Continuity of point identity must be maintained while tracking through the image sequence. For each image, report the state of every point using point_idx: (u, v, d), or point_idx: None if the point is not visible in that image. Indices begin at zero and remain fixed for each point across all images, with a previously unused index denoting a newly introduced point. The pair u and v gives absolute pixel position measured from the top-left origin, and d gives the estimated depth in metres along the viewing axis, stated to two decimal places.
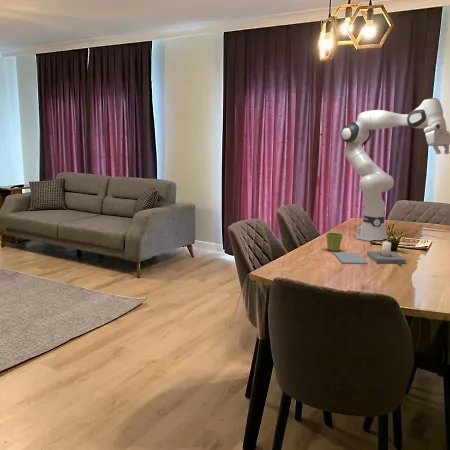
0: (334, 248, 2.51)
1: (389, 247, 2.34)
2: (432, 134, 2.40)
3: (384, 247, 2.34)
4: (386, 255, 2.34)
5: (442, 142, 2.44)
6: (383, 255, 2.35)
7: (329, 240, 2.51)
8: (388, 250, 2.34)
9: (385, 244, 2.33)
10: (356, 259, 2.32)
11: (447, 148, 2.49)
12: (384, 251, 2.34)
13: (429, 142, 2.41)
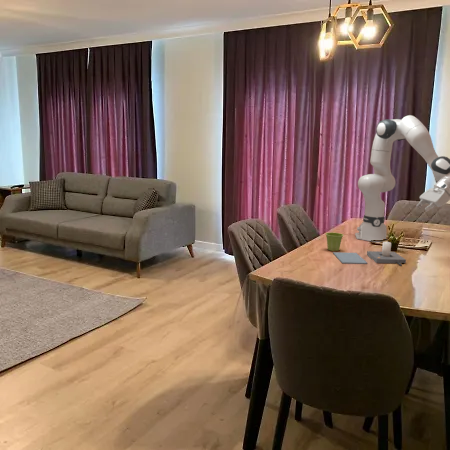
0: (334, 248, 2.51)
1: (389, 247, 2.34)
2: (447, 199, 2.21)
3: (384, 247, 2.34)
4: (386, 255, 2.34)
5: None
6: (383, 255, 2.35)
7: (329, 240, 2.51)
8: (388, 250, 2.34)
9: (385, 244, 2.33)
10: (356, 259, 2.32)
11: (421, 204, 2.37)
12: (384, 251, 2.34)
13: (439, 201, 2.21)
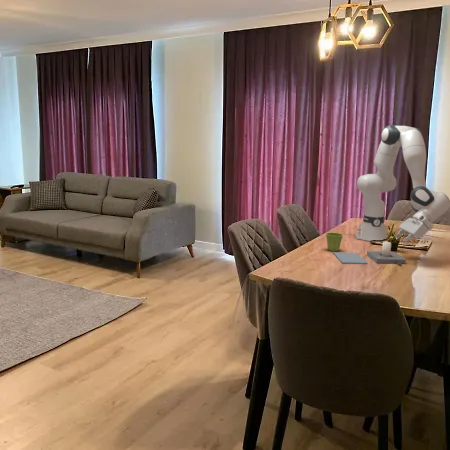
0: (334, 248, 2.51)
1: (389, 247, 2.34)
2: (425, 231, 2.24)
3: (384, 247, 2.34)
4: (386, 255, 2.34)
5: None
6: (383, 255, 2.35)
7: (329, 240, 2.51)
8: (388, 250, 2.34)
9: (385, 244, 2.33)
10: (356, 259, 2.32)
11: (401, 234, 2.40)
12: (384, 251, 2.34)
13: (417, 233, 2.24)
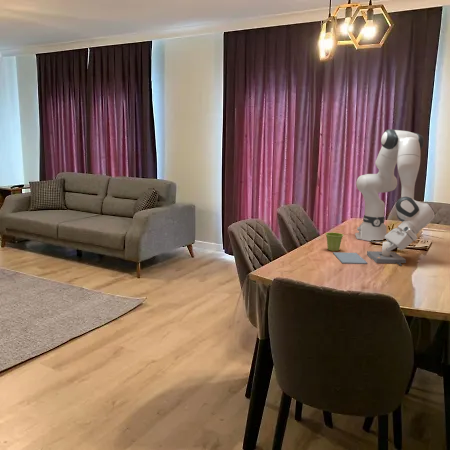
0: (334, 248, 2.51)
1: None
2: (409, 242, 2.25)
3: (384, 247, 2.34)
4: (386, 255, 2.34)
5: None
6: (383, 255, 2.35)
7: (329, 240, 2.51)
8: None
9: (385, 244, 2.33)
10: (356, 259, 2.32)
11: None
12: (384, 251, 2.34)
13: (401, 244, 2.25)
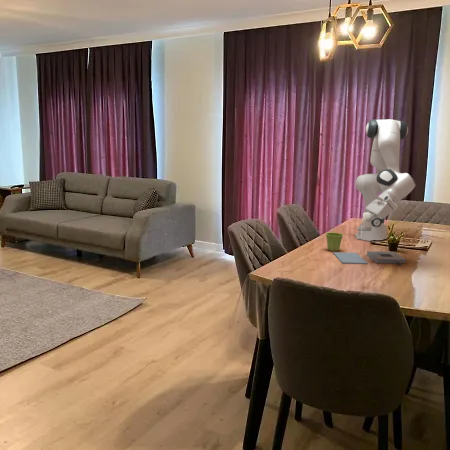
0: (334, 248, 2.51)
1: None
2: (389, 211, 2.22)
3: (365, 218, 2.31)
4: (367, 226, 2.31)
5: None
6: (364, 226, 2.32)
7: (329, 240, 2.51)
8: None
9: (366, 214, 2.31)
10: (356, 259, 2.32)
11: None
12: (365, 222, 2.31)
13: (381, 213, 2.22)
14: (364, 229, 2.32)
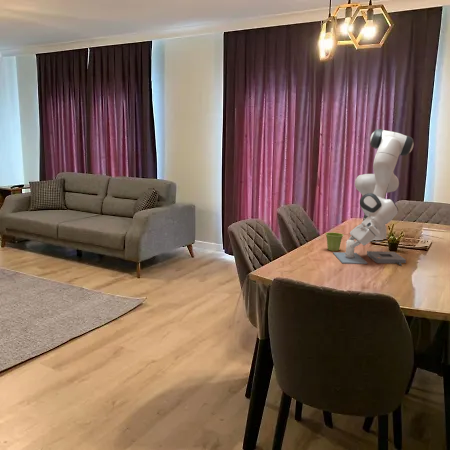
0: (334, 248, 2.51)
1: None
2: (371, 238, 2.25)
3: (348, 245, 2.34)
4: (350, 253, 2.34)
5: None
6: (347, 253, 2.35)
7: (329, 240, 2.51)
8: None
9: (349, 242, 2.33)
10: (356, 259, 2.32)
11: None
12: (348, 249, 2.34)
13: (363, 240, 2.25)
14: (347, 256, 2.35)
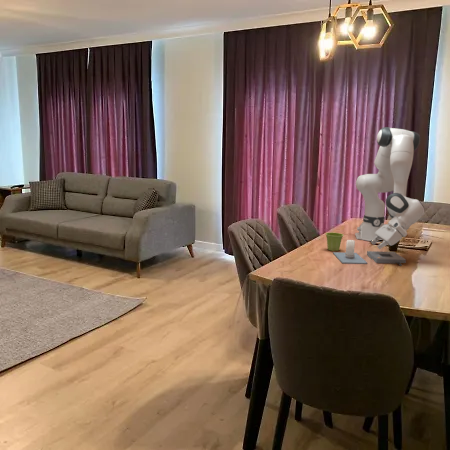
0: (334, 248, 2.51)
1: (353, 245, 2.33)
2: (399, 238, 2.25)
3: (348, 245, 2.34)
4: (350, 253, 2.34)
5: None
6: (347, 253, 2.35)
7: (329, 240, 2.51)
8: (352, 248, 2.34)
9: (349, 242, 2.33)
10: (356, 259, 2.32)
11: (376, 240, 2.40)
12: (348, 249, 2.34)
13: (390, 240, 2.25)
14: (347, 256, 2.35)
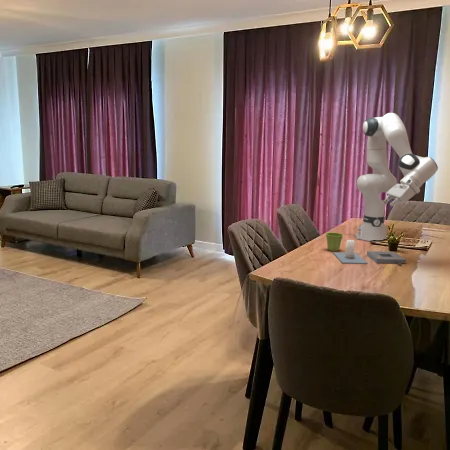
0: (334, 248, 2.51)
1: (353, 245, 2.33)
2: (412, 195, 2.23)
3: (348, 245, 2.34)
4: (350, 253, 2.34)
5: None
6: (347, 253, 2.35)
7: (329, 241, 2.51)
8: (352, 248, 2.34)
9: (349, 242, 2.33)
10: (356, 259, 2.32)
11: (388, 199, 2.38)
12: (348, 249, 2.34)
13: (403, 196, 2.23)
14: (347, 256, 2.35)
